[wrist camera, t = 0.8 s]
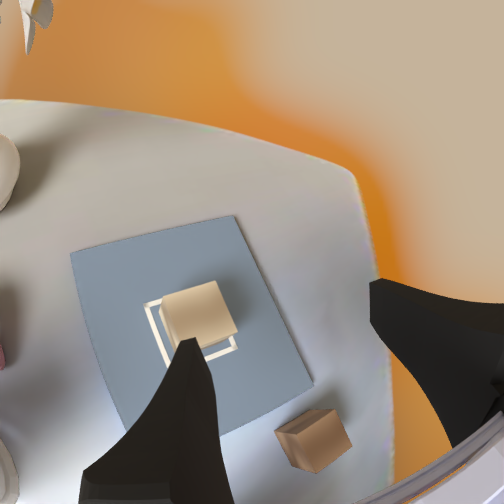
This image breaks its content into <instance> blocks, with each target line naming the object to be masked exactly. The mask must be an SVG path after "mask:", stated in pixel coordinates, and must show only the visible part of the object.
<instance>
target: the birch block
mask: <svg viewBox="0 0 504 504" xmlns="http://www.w3.org/2000/svg"><path fill="white" fill-rule="evenodd" d="M159 314H160V317H161V320H162V322H163V325H164V328H165V330H166V333H167V335H168V338H169V340H170V343H171V345H172V348H173V350H174V353H175V351H176V349H177V347H178V345H179V343H180V341H182V340H186V339H190V338H193V337H196V339H197V341H198V344H199V346H200V349H201V350H203V349H206V348H208V347H211V346H214V345H216V344H219V343H221V342H223V341H225V340H226V339H228V338H229V337H231V336H232V335H234V334H235V333H237V332H238V331H237V328H236V326H235V324H234V322H233V319H232V317H231V315H230V313H229V310H228V308H227V306H226V304H225V301H224V299H223V297H222V294H221V292H220V290H219V288H218V285H217V283H216V281H212V282H209V283H205V284H202V285H199V286H196V287H192V288H189V289H186V290H182V291H179V292H176V293H172V294H169V295H165V296H163V298H162V302H161V305H160V309H159Z"/></svg>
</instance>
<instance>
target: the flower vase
mask: <svg viewBox="0 0 504 504" xmlns="http://www.w3.org/2000/svg"><path fill="white" fill-rule="evenodd" d="M1 3H2V0H0V4H1ZM19 3H20V7H21V12H22V18H23V24H24V34H25V46H26V54H27V55H28V54H29V52H30V50H31V47H32V44H33V40H34V35H35V22H34V21H33V20H32V19H34V20H35V21H36V22H37V23H38V24H39V25H40V26H41V27H42V28H43V29H46V28H48V26H49V24H50V22H51V20H52V16H53V3H52V1H51V0H19ZM0 23H1V17H0ZM19 171H20V155H19V153H18V151H17V148H16V146H15V145H14V143H13V142H12V141H11V140H10V139H9V138H7V137H6V136H4V135H2V134H0V211H1V210H2V209H3V208H4V207H5V206H6V204H7V203H8V201H9V199H10V197H11V195H12V191H13V188H14V186H15V184H16V182H17V179H18V176H19Z"/></svg>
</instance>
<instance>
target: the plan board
mask: <svg viewBox="0 0 504 504" xmlns="http://www.w3.org/2000/svg"><path fill="white" fill-rule="evenodd" d="M70 257H71V263H72V268H73V273H74V277H75V282H76V286H77V291H78V295H79V299H80V303H81V307H82V311H83V314H84V318H85V322H86V325H87V329H88V332H89V335H90V339H91V342H92V345H93V348H94V351H95V354H96V357H97V360H98V363H99V366H100V369H101V371H102V374H103V377H104V379H105V382H106V385H107V387H108V390H109V392H110V395H111V397H112V400H113V402H114V405H115V407H116V409H117V412H118V414H119V416H120V418H121V421H122V423H123V425H124V427H125V429H126V431H128V430H129V429H130V428H131V427H132V426H133V424H134V423H135V422H136V421H137V420H138V418H139V417H140V416H141V414H142V413H143V412H144V410H145V409H146V407H147V406H148V404H149V403H150V401H151V399H152V398H153V396H154V394H155V392H156V391H157V389H158V387H159V385H160V383H161V382H162V380H163V378H164V375H165V373H166V371H167V369H168V367H169V365H170V363H171V361H172V358H173V356H174V354H175V353H174V350H173V348H172V345H171V343H170V340H169V338H168V335H167V333H166V330H165V328H164V325H163V322H162V320H161V317H160V314H159V309H160V305H161V302H162V298H163V296H165V295H169V294H172V293H176V292H179V291H182V290H186V289H189V288H192V287H196V286H199V285H202V284H205V283H209V282H212V281H216V283H217V285H218V288H219V290H220V292H221V294H222V297H223V299H224V301H225V304H226V306H227V308H228V310H229V313H230V315H231V317H232V319H233V322H234V324H235V326H236V328H237V331H238V332H237V333H235V334H234V335H232V336H231V337H229V338H228V339H226V340H225V341H223V342H221V343H219V344H216V345H214V346H211V347H208V348H206V349H203V350H201V351H202V353H203V356H204V358H205V360H206V363H207V365H208V367H209V369H210V372H211V374H212V379H213V384H214V388H215V394H216V403H217V415H218V427H219V436H222V435H224V434H226V433H228V432H230V431H232V430H234V429H237V428H239V427H241V426H243V425H245V424H247V423H249V422H251V421H253V420H255V419H257V418H259V417H261V416H262V415H264V414H266V413H268V412H270V411H272V410H274V409H275V408H277V407H279V406H281V405H283V404H284V403H286V402H288V401H290V400H291V399H293V398H295V397H297V396H298V395H300V394H302V393H303V392H305V391H307V390H308V389H310V388H312V387H313V386H314V385H313V383H312V381H311V379H310V376H309V374H308V372H307V370H306V368H305V366H304V364H303V362H302V360H301V358H300V355H299V353H298V351H297V349H296V347H295V345H294V343H293V341H292V339H291V337H290V335H289V332H288V330H287V328H286V326H285V324H284V322H283V320H282V318H281V316H280V314H279V311H278V309H277V307H276V305H275V303H274V301H273V299H272V297H271V295H270V293H269V291H268V288H267V286H266V284H265V282H264V280H263V278H262V276H261V274H260V272H259V270H258V267H257V265H256V263H255V261H254V259H253V257H252V255H251V253H250V251H249V248H248V246H247V244H246V242H245V240H244V238H243V236H242V234H241V232H240V230H239V227H238V225H237V223H236V221H235V219H234V217H233V216H228V217H223V218H218V219H213V220H209V221H204V222H199V223H195V224H190V225H185V226H181V227H176V228H172V229H167V230H163V231H159V232H154V233H150V234H146V235H141V236H137V237H133V238H129V239H125V240H121V241H117V242H112V243H108V244H104V245H100V246H96V247H93V248H89V249H85V250H81V251H77V252H73V253H70Z"/></svg>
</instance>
